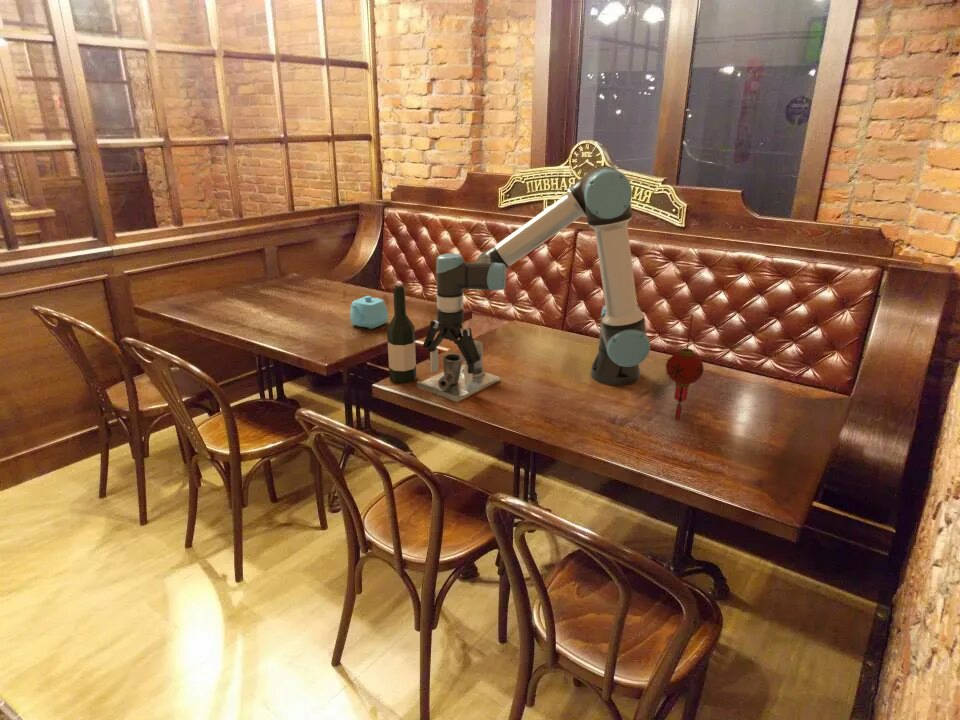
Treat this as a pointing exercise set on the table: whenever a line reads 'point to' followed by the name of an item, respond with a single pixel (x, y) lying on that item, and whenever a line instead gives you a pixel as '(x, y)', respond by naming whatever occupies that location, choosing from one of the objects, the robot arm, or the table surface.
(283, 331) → the table surface
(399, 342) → the wine bottle
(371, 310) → the teapot
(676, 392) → the lantern
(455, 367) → the pipe
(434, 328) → the robot arm
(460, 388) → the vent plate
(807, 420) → the table surface
